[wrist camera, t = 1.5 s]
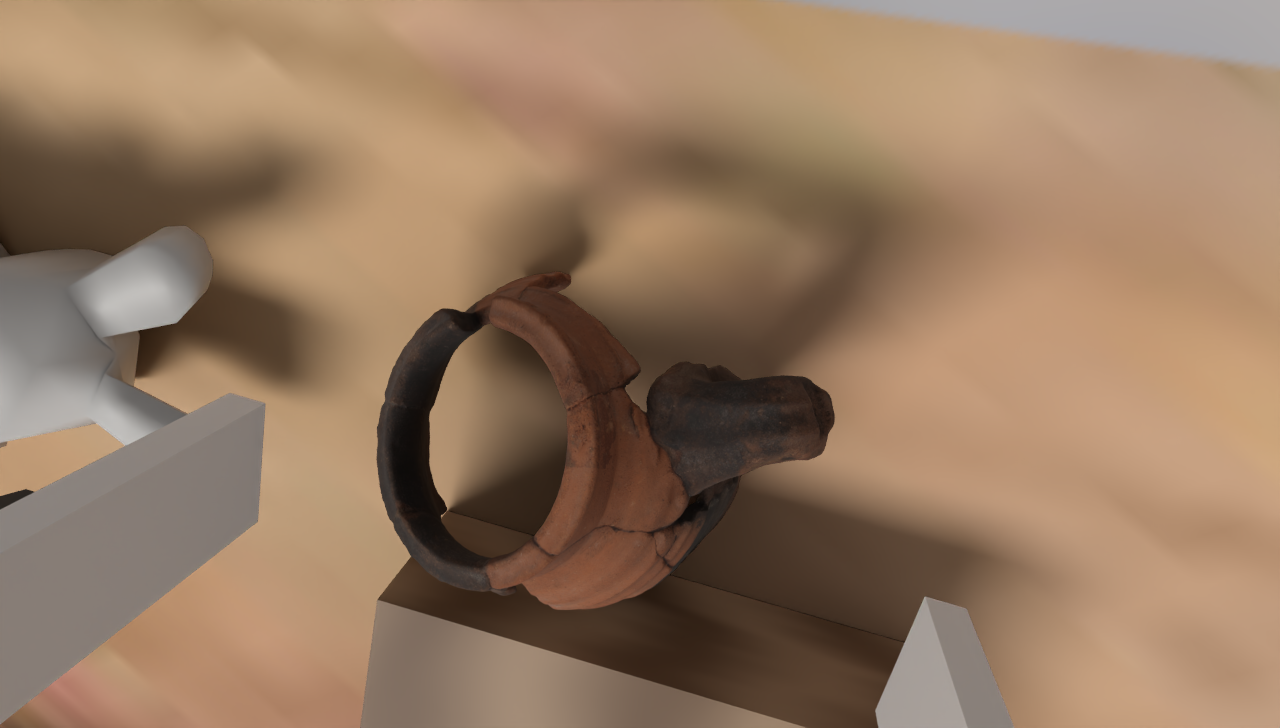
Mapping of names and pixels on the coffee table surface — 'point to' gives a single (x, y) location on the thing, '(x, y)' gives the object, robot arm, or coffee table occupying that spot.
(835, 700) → the walnut block
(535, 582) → the pottery mug
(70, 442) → the coffee table surface
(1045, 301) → the coffee table surface
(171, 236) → the bunny figurine
